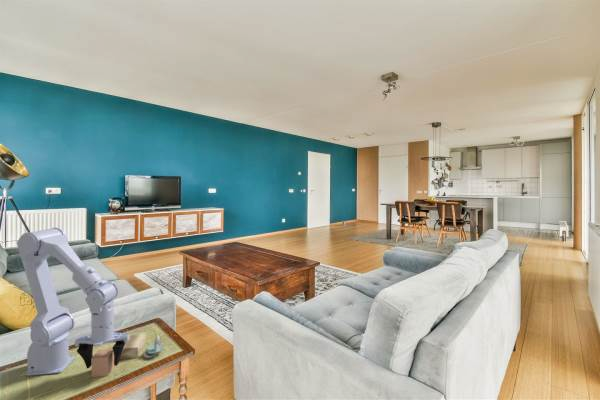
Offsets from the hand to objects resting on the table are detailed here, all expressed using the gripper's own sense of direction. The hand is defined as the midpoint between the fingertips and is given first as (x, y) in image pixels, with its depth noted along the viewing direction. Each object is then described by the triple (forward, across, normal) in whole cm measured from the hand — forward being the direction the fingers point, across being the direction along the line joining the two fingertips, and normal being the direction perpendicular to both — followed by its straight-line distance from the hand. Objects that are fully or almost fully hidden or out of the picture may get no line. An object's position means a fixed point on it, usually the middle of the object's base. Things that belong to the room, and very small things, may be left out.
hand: (103, 364), depth 89 cm
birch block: (+2, +4, +10) cm, 11 cm away
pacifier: (+2, +12, +8) cm, 15 cm away
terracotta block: (+2, 0, 0) cm, 2 cm away
